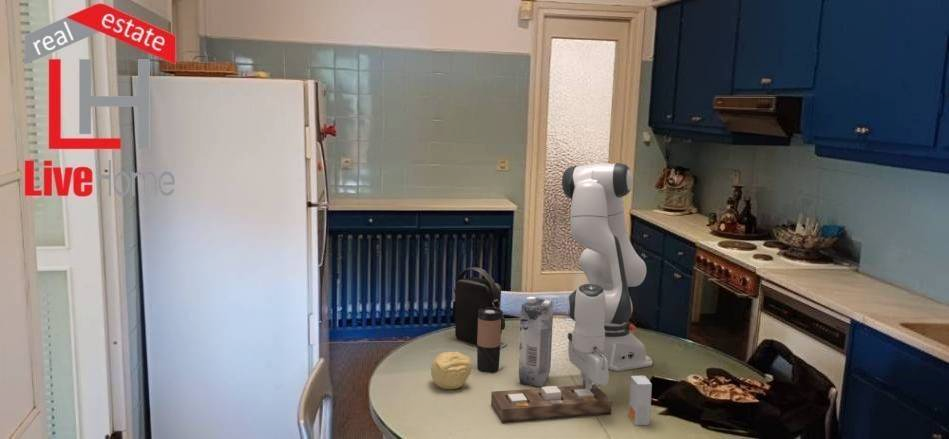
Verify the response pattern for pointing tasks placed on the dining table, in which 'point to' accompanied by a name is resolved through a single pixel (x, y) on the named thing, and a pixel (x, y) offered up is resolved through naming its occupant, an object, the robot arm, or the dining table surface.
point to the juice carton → (535, 341)
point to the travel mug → (488, 339)
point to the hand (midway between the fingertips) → (587, 387)
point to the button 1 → (517, 398)
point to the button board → (549, 405)
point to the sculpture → (450, 370)
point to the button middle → (550, 393)
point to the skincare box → (640, 400)
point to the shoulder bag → (473, 305)
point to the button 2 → (583, 393)
